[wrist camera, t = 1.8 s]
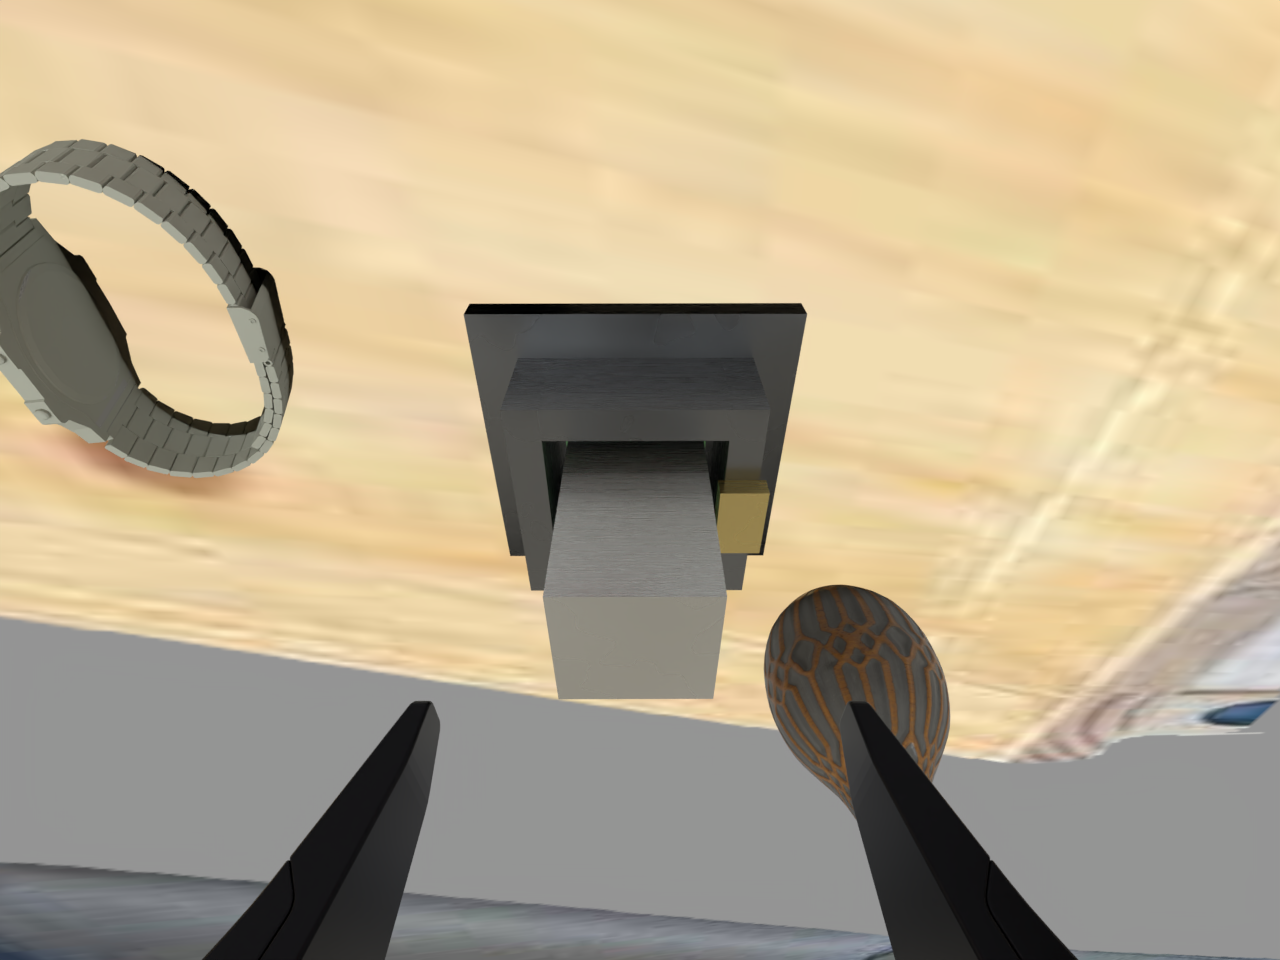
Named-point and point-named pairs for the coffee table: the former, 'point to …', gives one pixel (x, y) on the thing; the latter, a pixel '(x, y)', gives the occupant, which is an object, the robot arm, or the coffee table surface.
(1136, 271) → the coffee table surface
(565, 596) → the post
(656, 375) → the stand base
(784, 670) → the vase
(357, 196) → the coffee table surface
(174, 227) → the wristwatch
